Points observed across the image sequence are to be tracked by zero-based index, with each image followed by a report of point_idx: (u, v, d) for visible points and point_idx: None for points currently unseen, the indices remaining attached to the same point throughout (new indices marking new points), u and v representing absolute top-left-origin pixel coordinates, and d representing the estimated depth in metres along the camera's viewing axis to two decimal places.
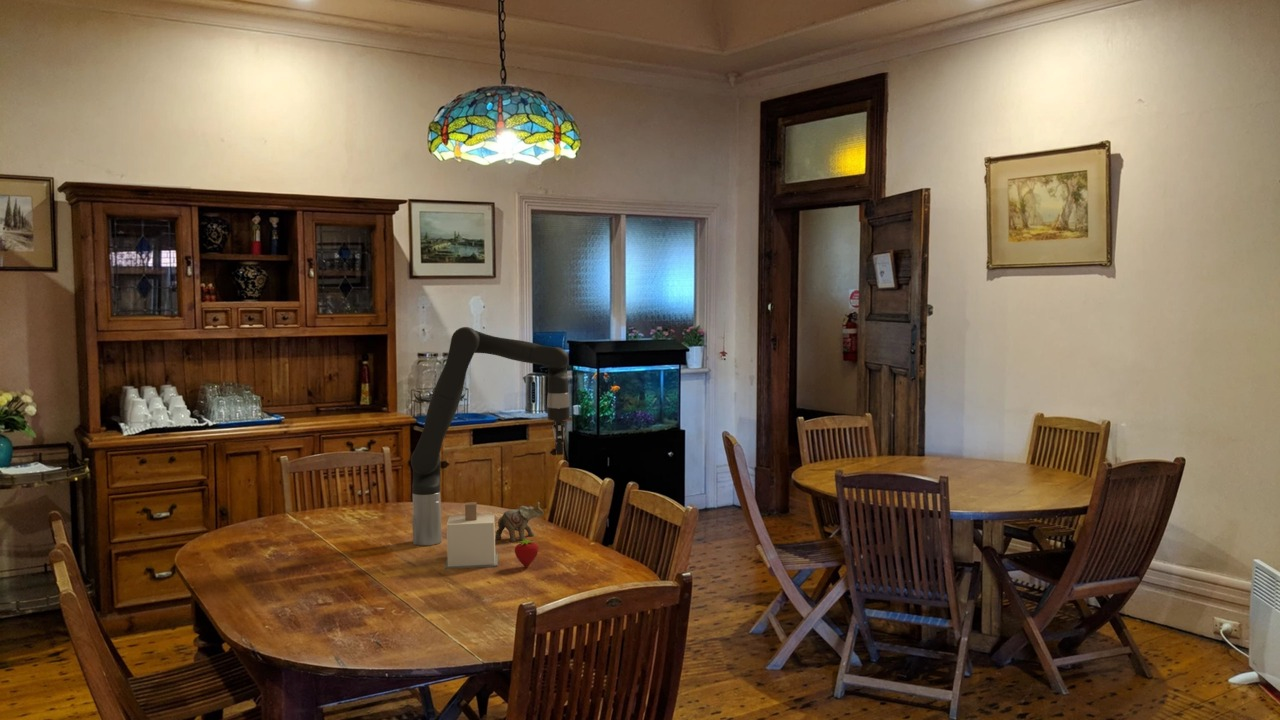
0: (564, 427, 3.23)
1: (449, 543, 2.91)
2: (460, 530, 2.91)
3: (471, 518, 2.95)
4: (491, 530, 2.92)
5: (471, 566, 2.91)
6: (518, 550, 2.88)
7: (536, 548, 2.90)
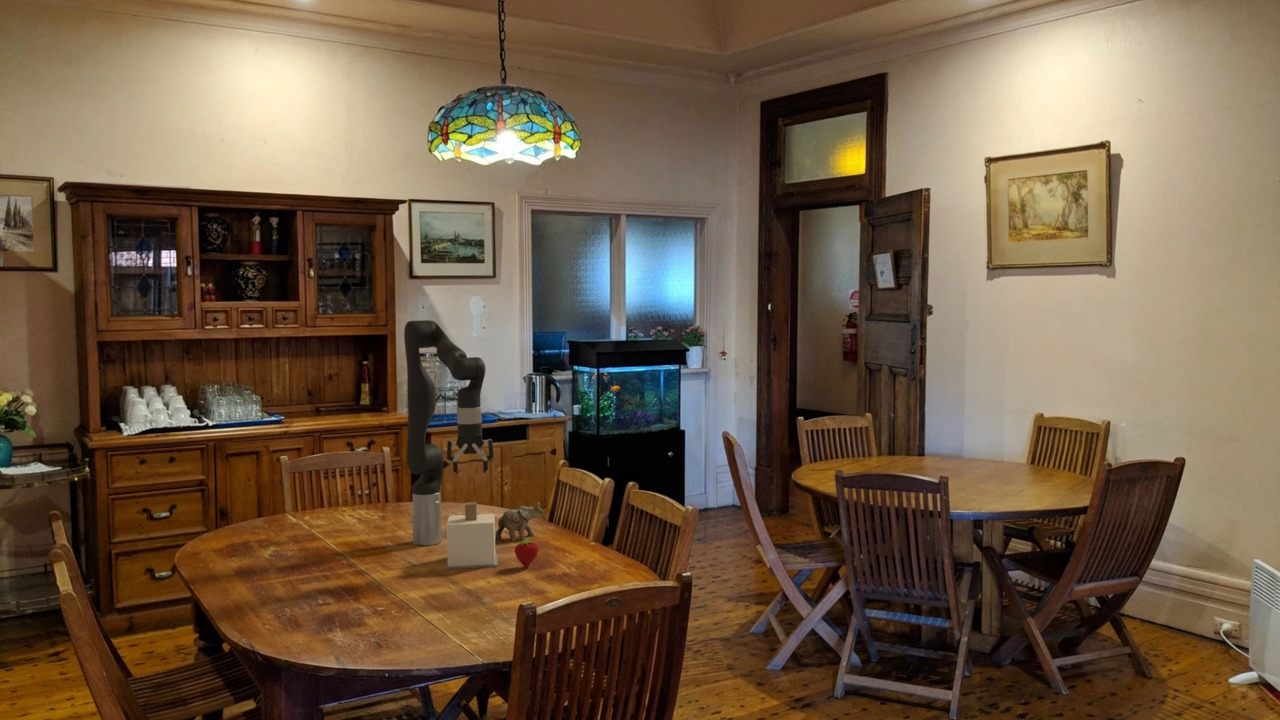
0: None
1: (449, 543, 2.91)
2: (460, 530, 2.91)
3: (471, 518, 2.95)
4: (491, 530, 2.92)
5: (471, 566, 2.91)
6: (518, 550, 2.88)
7: (536, 548, 2.90)
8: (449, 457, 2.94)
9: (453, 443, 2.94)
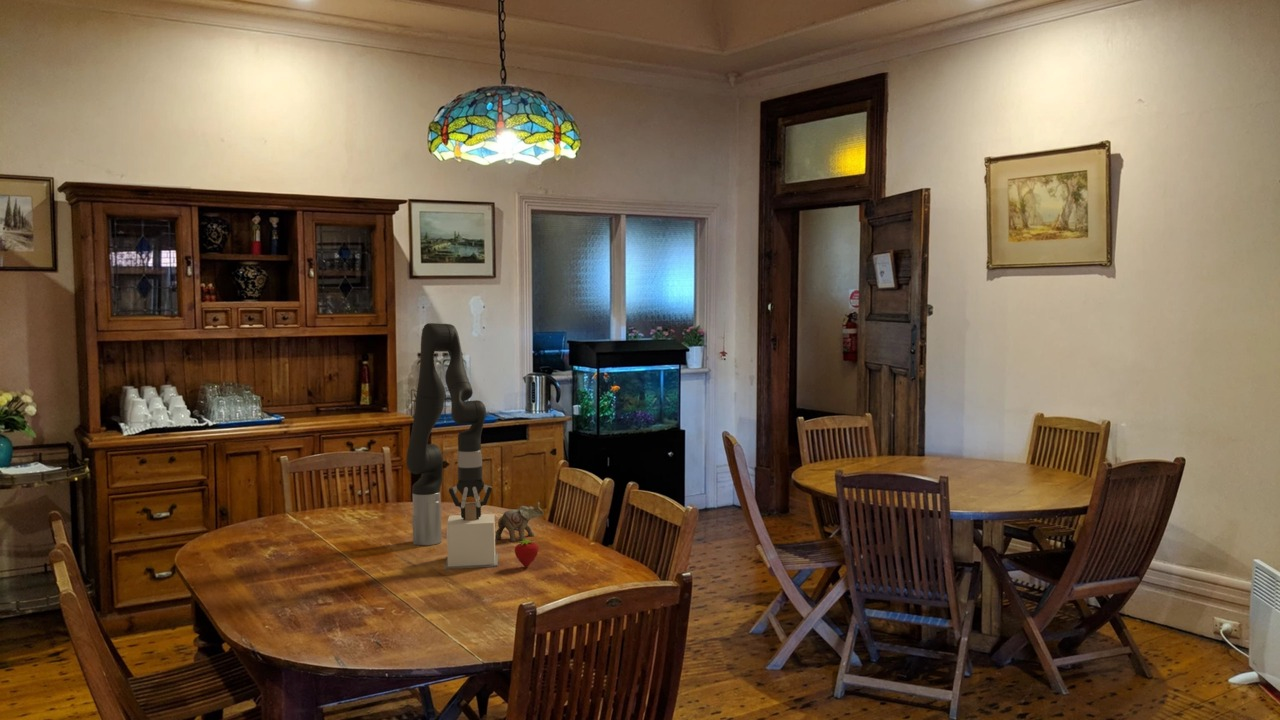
0: None
1: (449, 543, 2.91)
2: (460, 530, 2.91)
3: (471, 518, 2.95)
4: (491, 530, 2.92)
5: (471, 566, 2.91)
6: (518, 550, 2.88)
7: (536, 548, 2.90)
8: (457, 503, 2.95)
9: (454, 489, 2.95)
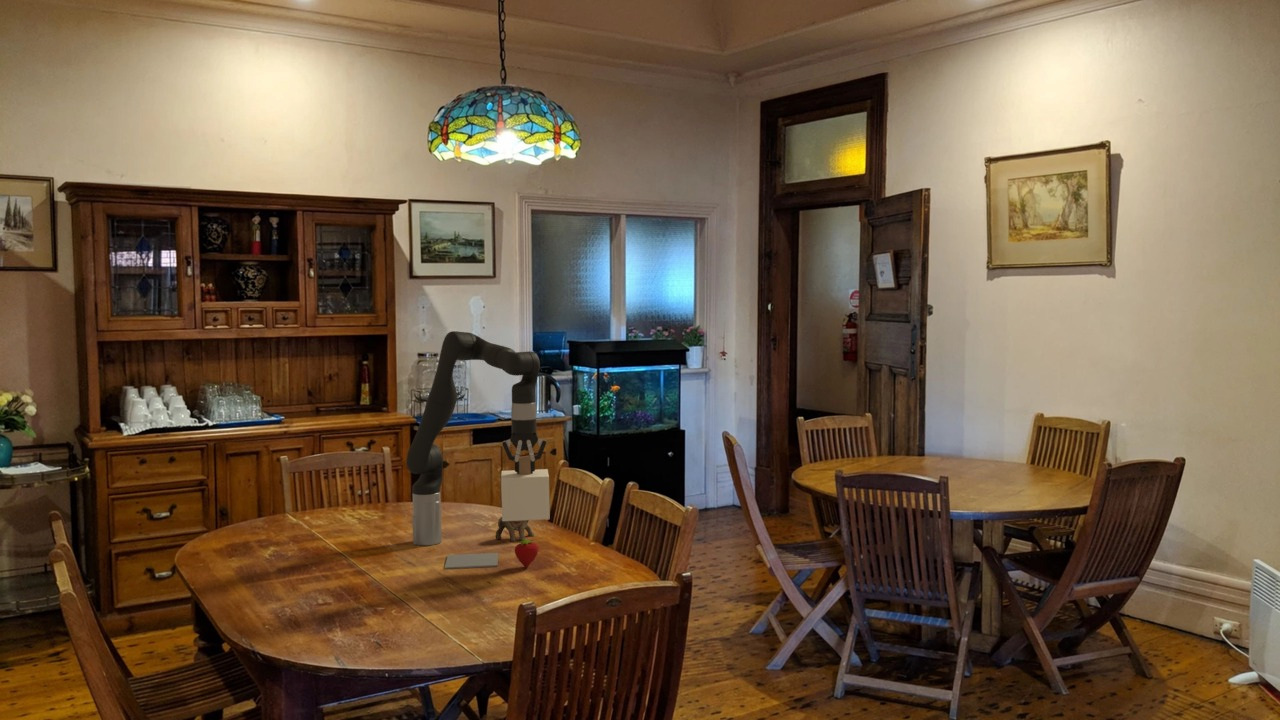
0: None
1: (503, 497, 2.83)
2: (515, 484, 2.83)
3: (525, 472, 2.88)
4: (546, 484, 2.84)
5: (471, 566, 2.91)
6: (518, 550, 2.88)
7: (536, 548, 2.90)
8: (510, 457, 2.87)
9: (508, 442, 2.88)
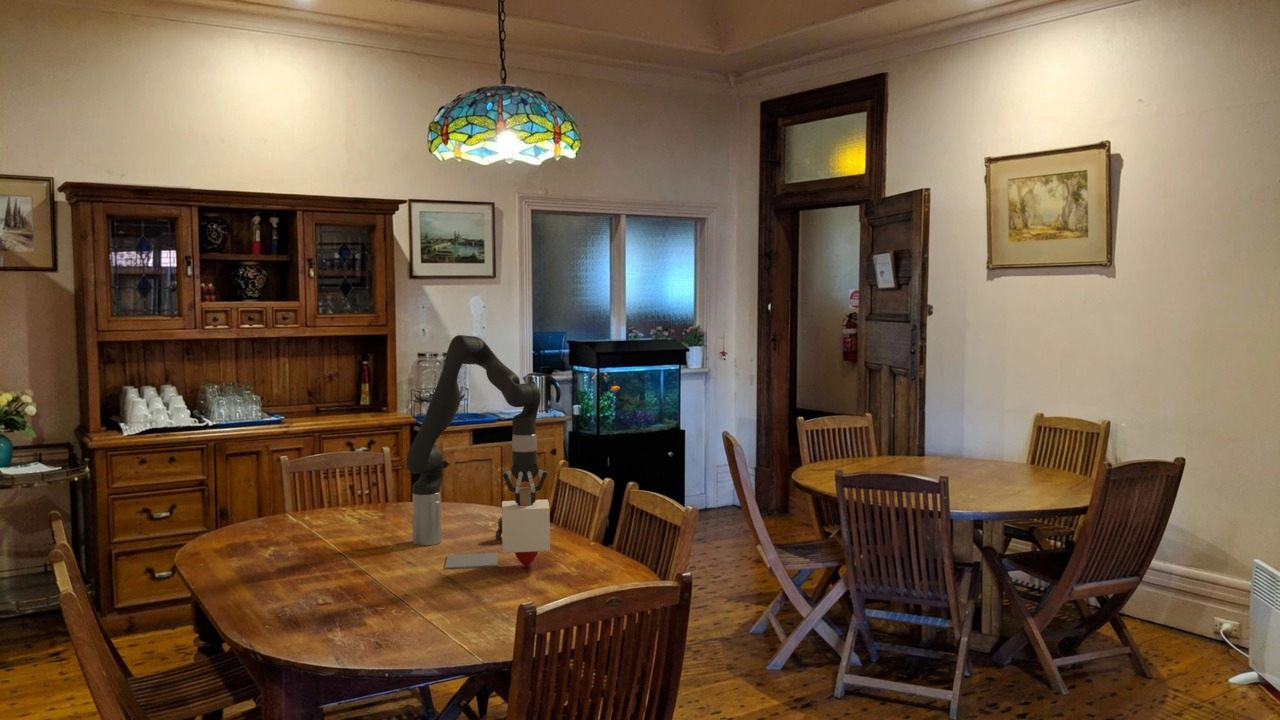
0: None
1: (504, 529, 2.84)
2: (515, 515, 2.84)
3: (526, 503, 2.88)
4: (547, 516, 2.85)
5: (471, 566, 2.91)
6: None
7: None
8: (511, 488, 2.88)
9: (509, 473, 2.88)
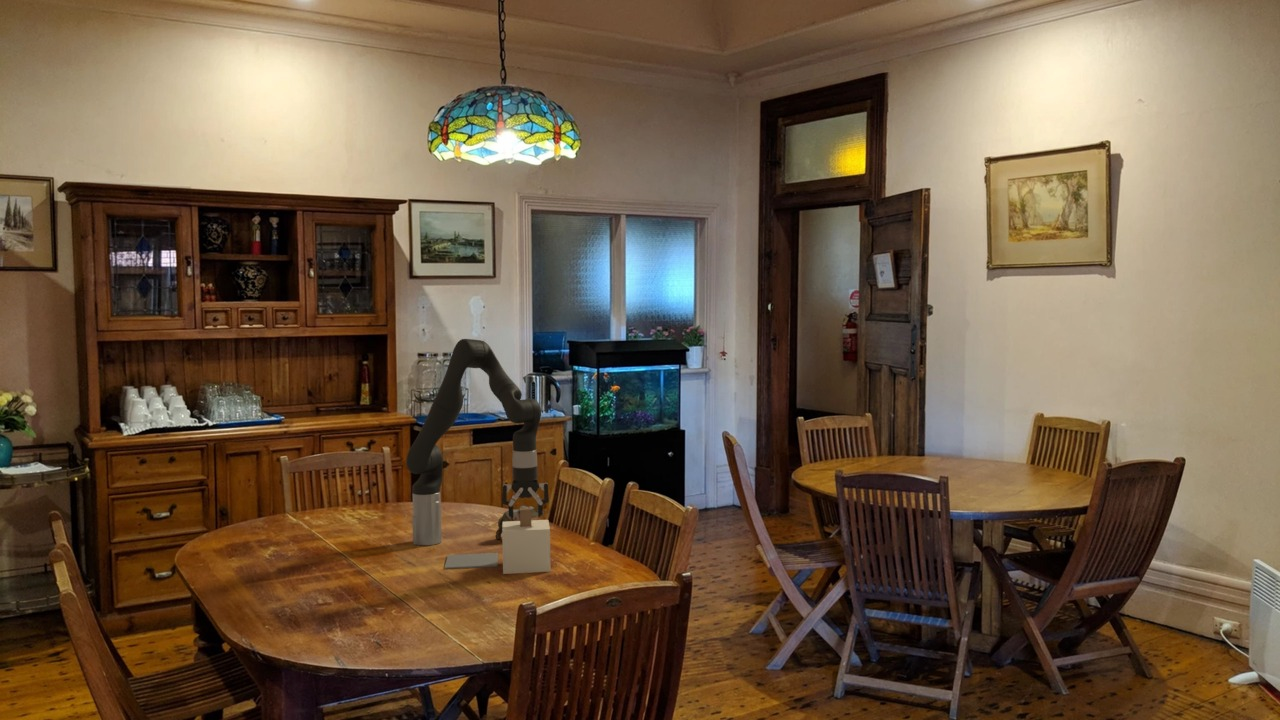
0: None
1: (504, 550, 2.84)
2: (516, 537, 2.84)
3: (526, 524, 2.89)
4: (547, 537, 2.85)
5: (471, 566, 2.91)
6: None
7: None
8: (505, 501, 2.88)
9: (508, 487, 2.88)
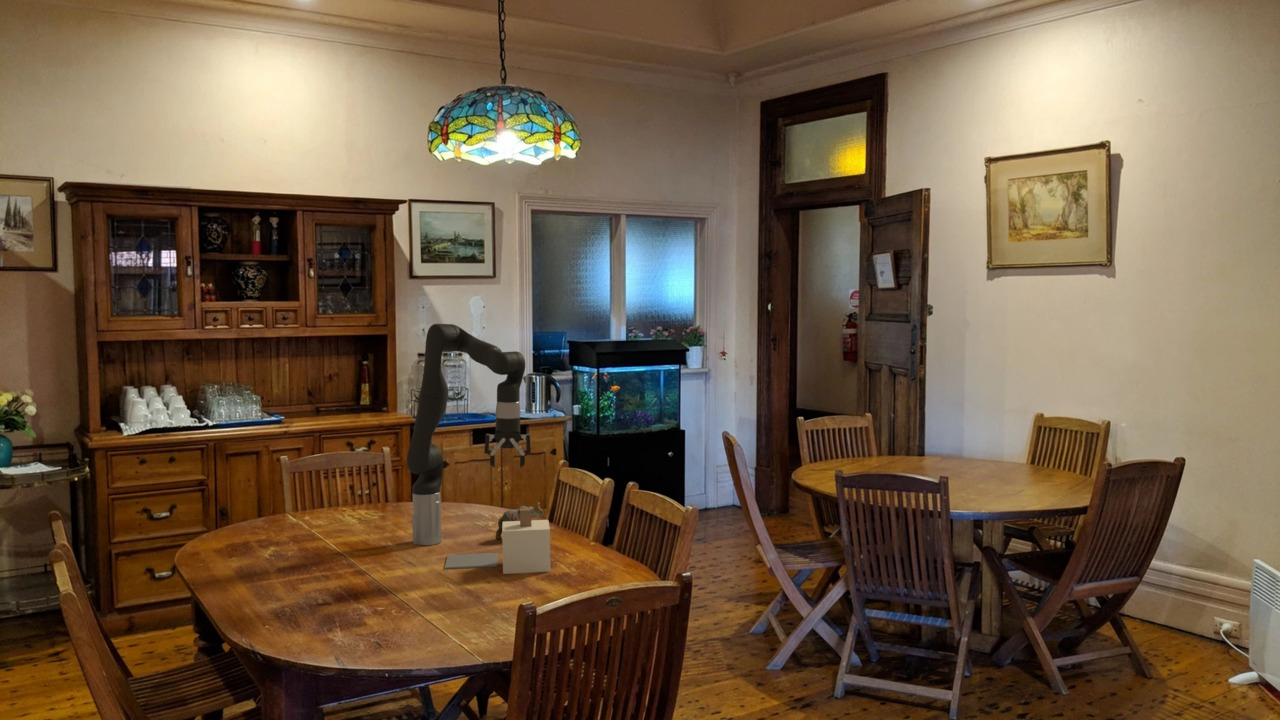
0: None
1: (504, 550, 2.84)
2: (516, 537, 2.84)
3: (526, 524, 2.89)
4: (547, 537, 2.85)
5: (471, 566, 2.91)
6: None
7: None
8: (487, 451, 2.94)
9: (491, 437, 2.94)
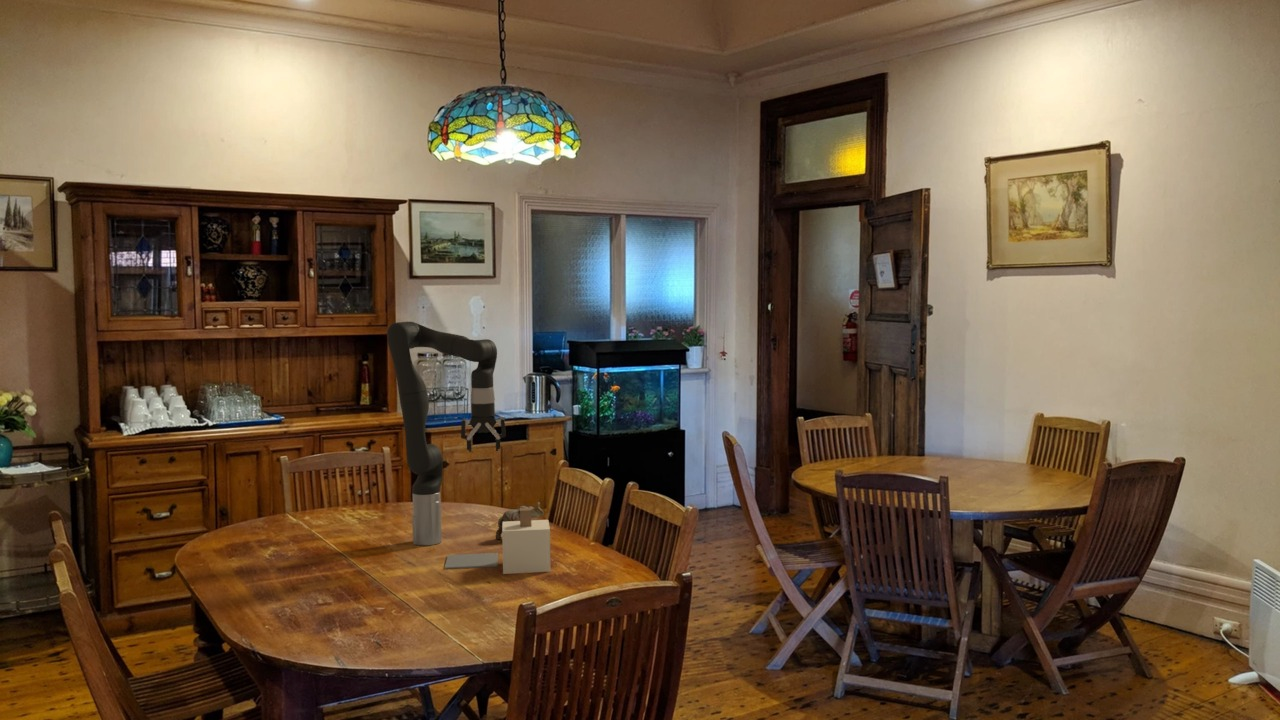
0: None
1: (504, 550, 2.84)
2: (516, 537, 2.84)
3: (526, 524, 2.89)
4: (547, 537, 2.85)
5: (471, 566, 2.91)
6: None
7: None
8: (463, 436, 3.05)
9: (467, 422, 3.05)
